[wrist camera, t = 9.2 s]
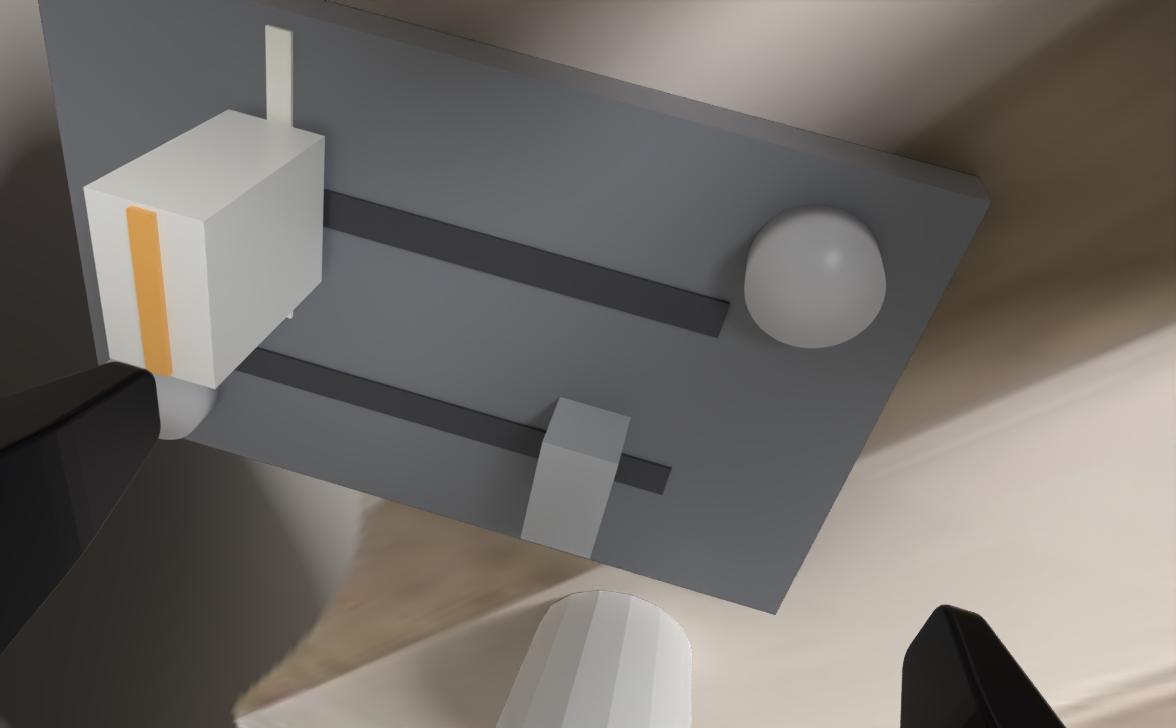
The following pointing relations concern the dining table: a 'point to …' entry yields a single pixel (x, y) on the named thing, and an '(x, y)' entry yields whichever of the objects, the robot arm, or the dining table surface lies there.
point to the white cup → (603, 667)
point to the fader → (207, 244)
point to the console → (538, 282)
